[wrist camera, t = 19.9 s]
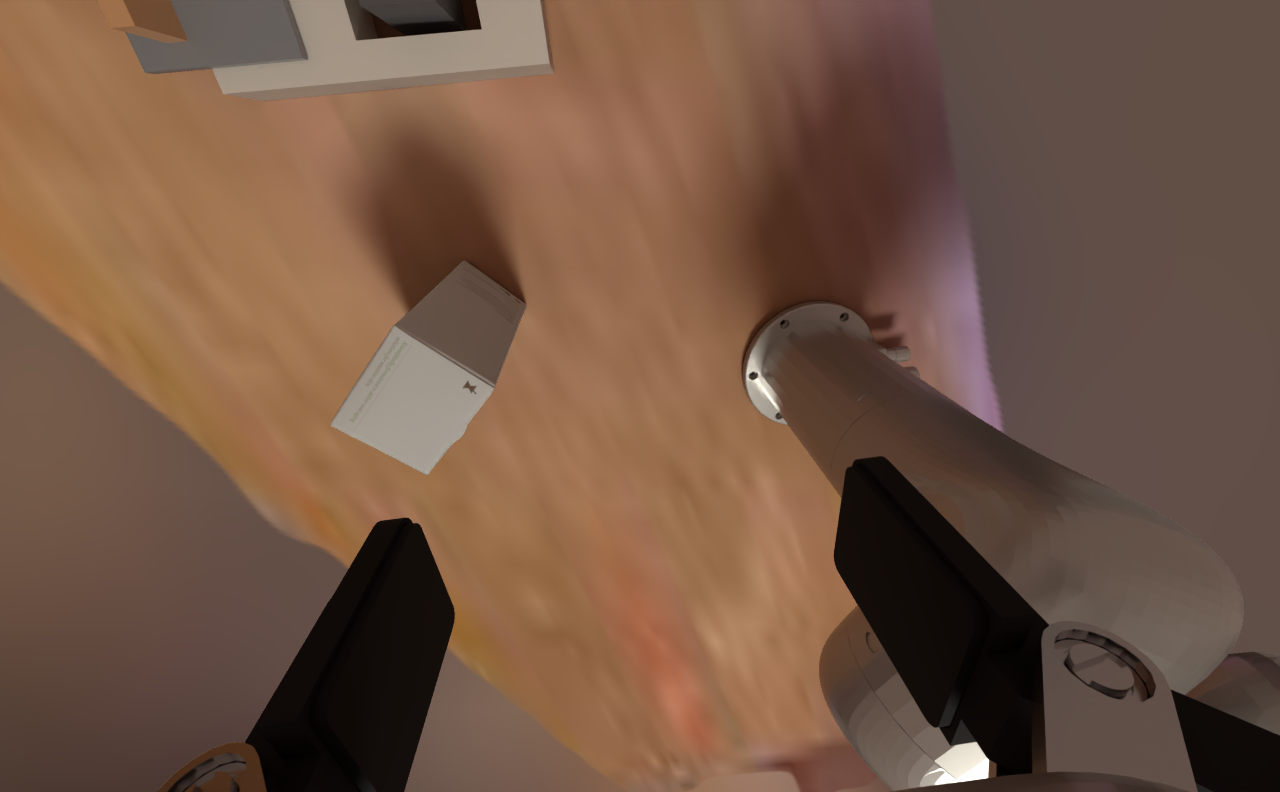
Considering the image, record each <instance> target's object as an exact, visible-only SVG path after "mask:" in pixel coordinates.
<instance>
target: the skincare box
mask: <svg viewBox="0 0 1280 792" xmlns="http://www.w3.org/2000/svg"><path fill="white" fill-rule="evenodd" d="M525 309H526V304H525V303H523V302H522V301H521V300H519V299H518V298H516V297H515V296H514V295H512V294H511V293H510V292H508V291H507V290H506V289H504V288H503V287H501V286H500V285H499V284H497V283H496V282H495V281H493V280H492V279H490V278H489V277H488V276H486V275H485V274H483V273H482V272H481V271H479V270H478V269H476V268H475V267H474V266H472V265H471V264H469V263H468V262H467V261H465V260H463V261H462V262H461V263H460V264H459V265H458V266H457V267H456V268H455V269H453V270H452V271H451V272H450V273H449V274H448V275H447V276H446V277H445V278H444V279H443V280H442V281H441V282H440V283H439V284H438V285H437V286H436V287H435V288H434V289H432V290H431V291H430V292H429V293H428V294H427V295H426V296H425V297H424V298H423V299H422V300H421V301H420V302H419V303H418V304H416V305H415V306H414V307H413V308H412V309H411V310H410V311H409V312H408V313H407V314H406V315H405V316H404V317H403V318H402V319H401V320H400V321H398V322H397V323H396V324H395V325H394V326H393V327H392V329H391V330H390V332H389V333H388V335H387V336H386V338H385V339H384V341H383V342H382V344H381V345H380V347H379V348H378V350H377V351H376V353H375V354H374V356H373V357H372V359H371V360H370V362H369V363H368V365H367V366H366V368H365V369H364V371H363V372H362V374H361V376H360V377H359V379H358V380H357V382H356V383H355V385H354V386H353V388H352V389H351V391H350V393H349V394H348V396H347V397H346V399H345V400H344V402H343V404H342V405H341V407H340V408H339V410H338V412H337V413H336V415H335V417H334V419H333V420H332V422H331V426H332V427H334V428H336V429H338V430H340V431H342V432H344V433H346V434H348V435H350V436H352V437H354V438H356V439H358V440H360V441H362V442H364V443H366V444H368V445H370V446H372V447H374V448H376V449H378V450H380V451H382V452H383V453H385V454H387V455H389V456H391V457H393V458H395V459H397V460H399V461H401V462H403V463H405V464H407V465H408V466H410V467H412V468H414V469H416V470H418V471H420V472H422V473H424V474H426V475H427V474H429V473H430V471H431V470H432V468H433V467H434V466H435V465H436V464H437V462H438V461H439V460H440V459H441V457H442V456H443V455H444V454H445V453H446V451H447V450H448V449H449V448H450V446H451V445H452V444H453V443H454V442H455V441H457V440H458V439H460V438H461V437H462V436H463V434H464V433H465V431H466V428H467V424H468V423H469V422H470V421H471V419H472V418H473V417H474V415H475V414H476V413H477V412H478V410H479V409H480V408H481V406H482V405H483V404H484V402H485V401H486V400H487V399H488V397H489V396H490V395H491V393H492V392H493V390H494V388H495V385H496V383H497V380H498V377H499V375H500V372H501V370H502V367H503V364H504V362H505V359H506V357H507V354H508V351H509V349H510V346H511V344H512V341H513V339H514V336H515V333H516V331H517V328H518V326H519V323H520V321H521V318H522V315H523V313H524V311H525Z"/></svg>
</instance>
